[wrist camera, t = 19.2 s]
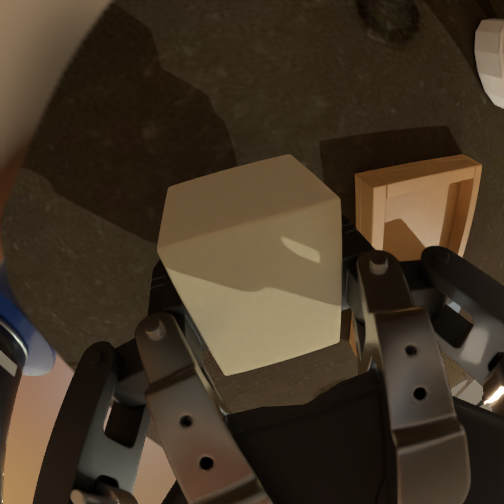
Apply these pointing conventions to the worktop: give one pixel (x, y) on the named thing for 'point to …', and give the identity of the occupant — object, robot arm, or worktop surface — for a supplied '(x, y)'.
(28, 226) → the worktop surface
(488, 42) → the white cup
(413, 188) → the frame
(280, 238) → the pad
